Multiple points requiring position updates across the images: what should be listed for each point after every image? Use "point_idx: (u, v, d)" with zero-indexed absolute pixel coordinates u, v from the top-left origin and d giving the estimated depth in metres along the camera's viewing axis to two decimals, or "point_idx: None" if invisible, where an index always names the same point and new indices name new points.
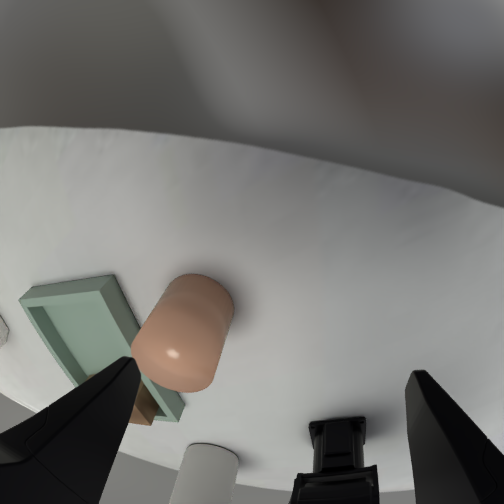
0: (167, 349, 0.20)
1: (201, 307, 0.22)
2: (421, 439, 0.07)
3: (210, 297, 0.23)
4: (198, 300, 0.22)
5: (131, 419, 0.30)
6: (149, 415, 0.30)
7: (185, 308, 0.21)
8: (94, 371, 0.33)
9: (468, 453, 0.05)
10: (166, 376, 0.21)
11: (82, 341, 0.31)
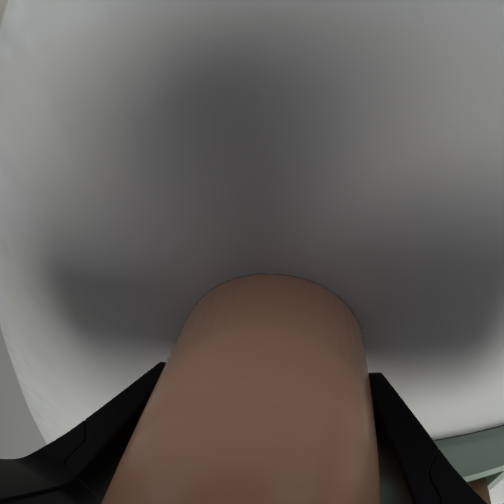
0: None
1: (160, 383, 0.07)
2: None
3: (184, 339, 0.08)
4: (161, 374, 0.07)
5: None
6: None
7: None
8: None
9: (415, 463, 0.05)
10: None
11: None
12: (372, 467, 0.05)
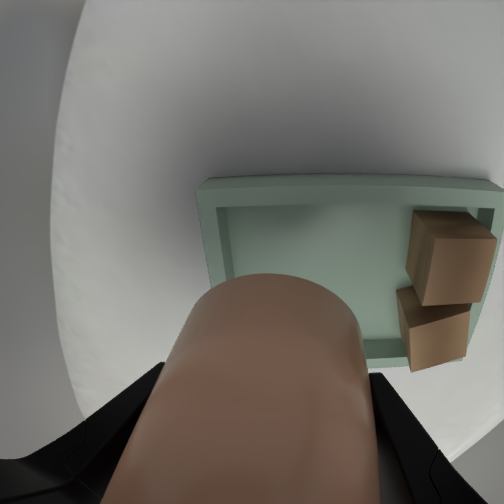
0: None
1: (160, 382, 0.07)
2: None
3: (184, 338, 0.08)
4: (160, 374, 0.07)
5: (477, 275, 0.14)
6: (478, 232, 0.14)
7: None
8: (393, 317, 0.21)
9: (415, 463, 0.05)
10: None
11: None
12: (372, 467, 0.05)
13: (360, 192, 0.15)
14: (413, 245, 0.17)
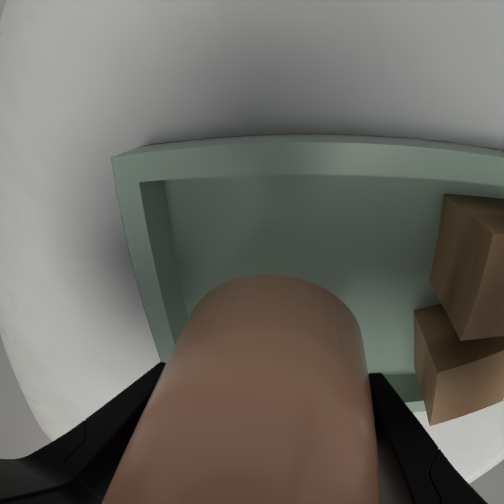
0: None
1: (160, 383, 0.07)
2: None
3: (184, 340, 0.08)
4: (161, 375, 0.07)
5: None
6: None
7: None
8: (407, 347, 0.14)
9: (415, 463, 0.05)
10: None
11: None
12: (372, 468, 0.05)
13: (369, 155, 0.09)
14: (446, 246, 0.11)
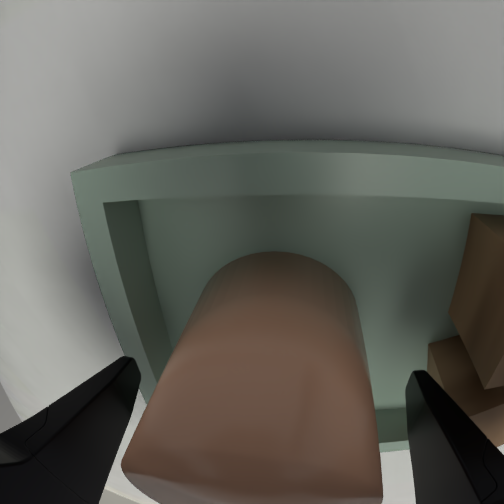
0: (183, 491, 0.06)
1: (180, 342, 0.08)
2: (421, 439, 0.07)
3: (201, 306, 0.09)
4: (179, 338, 0.09)
5: None
6: None
7: None
8: None
9: (468, 452, 0.05)
10: None
11: None
12: (369, 411, 0.06)
13: (391, 170, 0.07)
14: (472, 276, 0.09)
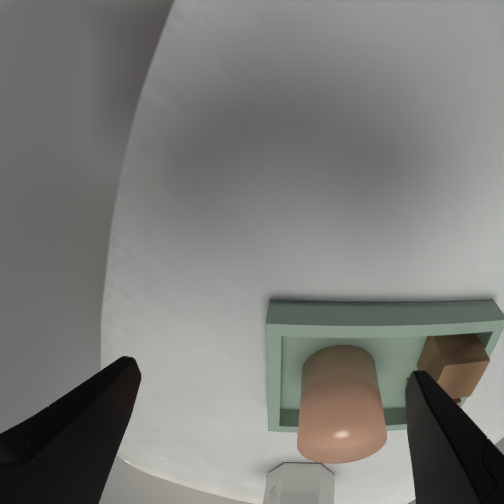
0: (321, 442, 0.18)
1: (313, 388, 0.20)
2: (421, 439, 0.07)
3: (316, 372, 0.21)
4: (309, 385, 0.21)
5: (470, 382, 0.18)
6: (476, 354, 0.18)
7: (304, 403, 0.20)
8: (402, 394, 0.24)
9: (468, 452, 0.05)
10: (357, 450, 0.18)
11: None
12: (381, 408, 0.18)
13: (396, 329, 0.19)
14: (426, 354, 0.21)
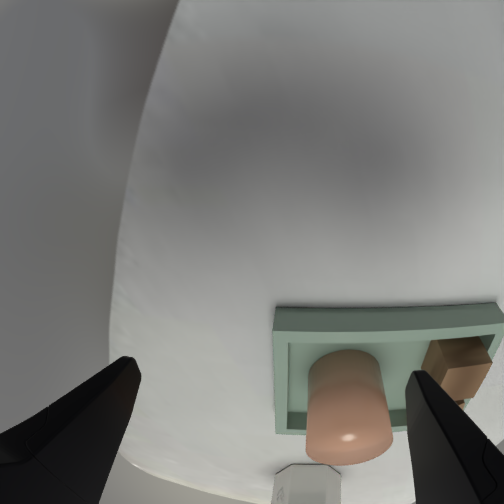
0: (328, 446, 0.18)
1: (320, 393, 0.20)
2: (421, 439, 0.07)
3: (322, 377, 0.21)
4: (316, 390, 0.21)
5: (473, 384, 0.18)
6: (479, 356, 0.18)
7: (311, 408, 0.20)
8: None
9: (468, 453, 0.05)
10: (364, 452, 0.18)
11: None
12: (387, 411, 0.18)
13: (400, 334, 0.19)
14: (430, 357, 0.21)
